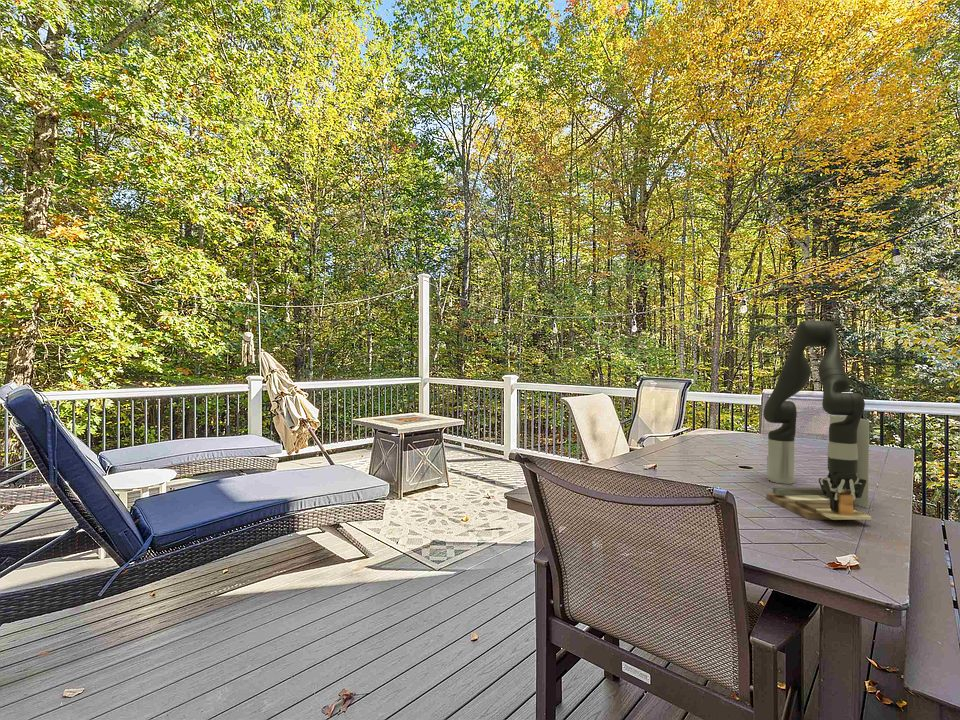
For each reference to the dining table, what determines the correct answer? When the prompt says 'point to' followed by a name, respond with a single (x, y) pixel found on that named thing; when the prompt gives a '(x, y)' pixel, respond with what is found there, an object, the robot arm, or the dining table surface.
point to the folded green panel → (860, 457)
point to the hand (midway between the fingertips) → (841, 510)
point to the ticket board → (801, 500)
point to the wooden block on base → (844, 509)
